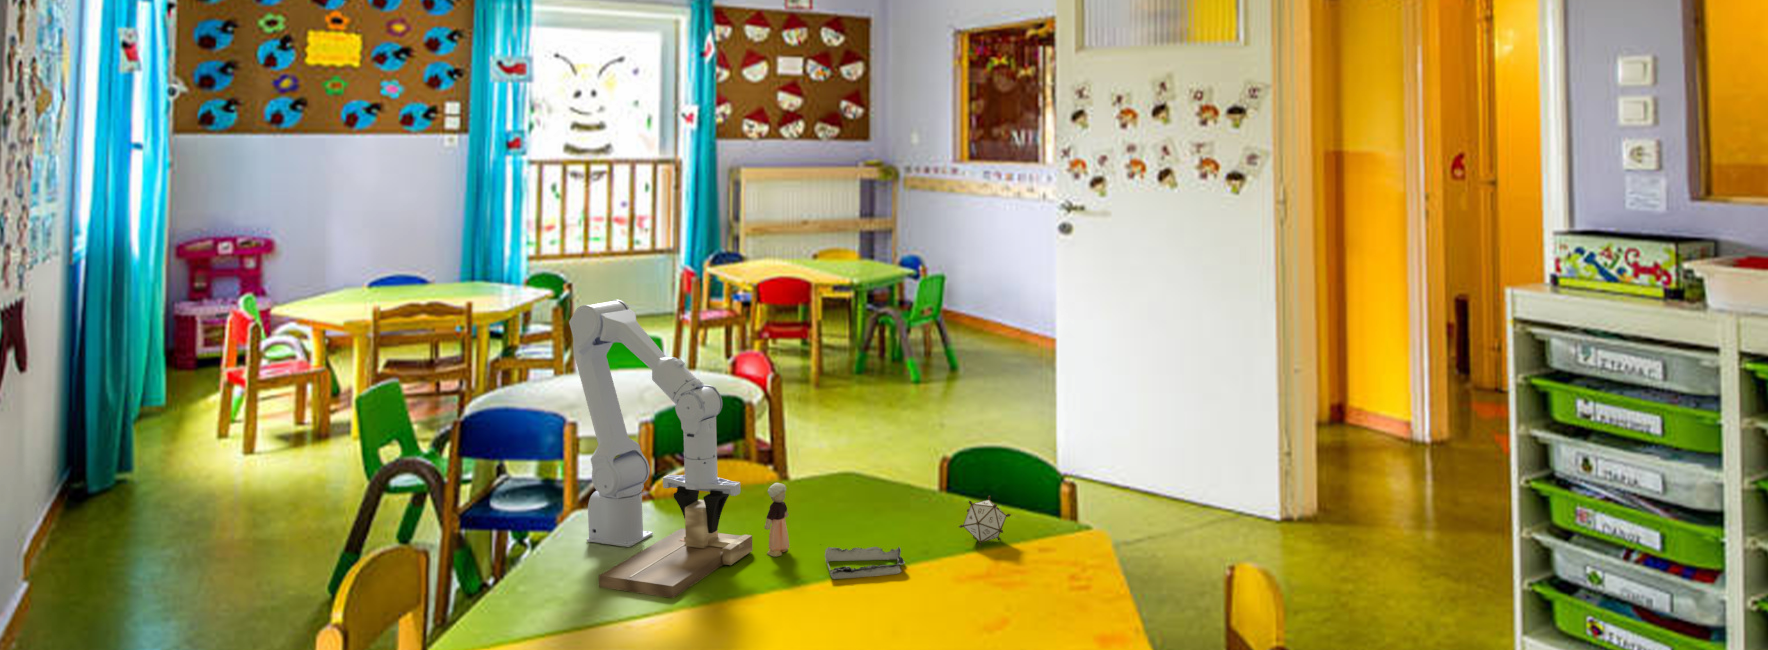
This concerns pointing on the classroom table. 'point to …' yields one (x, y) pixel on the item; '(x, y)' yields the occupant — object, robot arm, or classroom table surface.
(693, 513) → the beige l-shaped block
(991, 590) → the classroom table surface
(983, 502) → the game die
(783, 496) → the grandmother figurine
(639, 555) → the board
